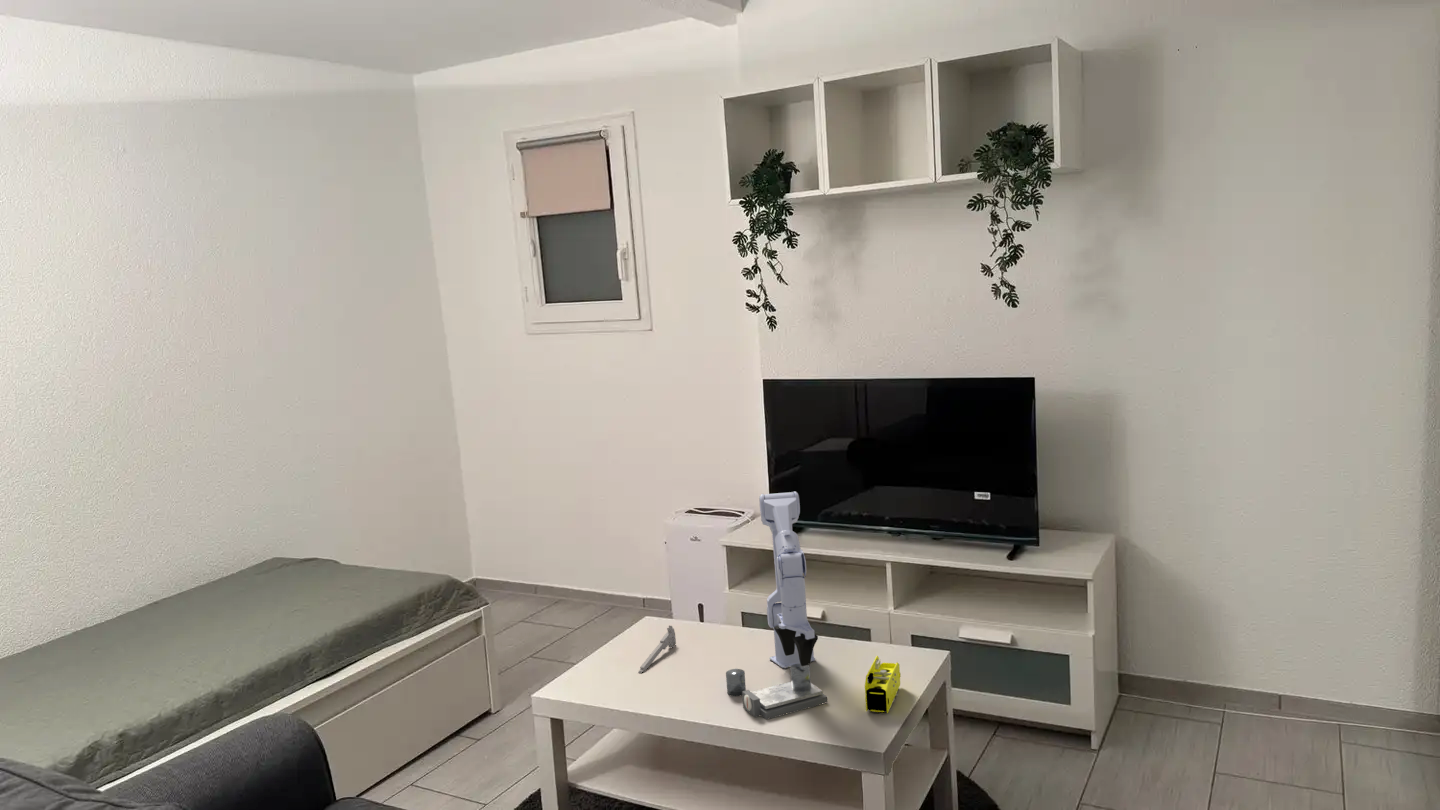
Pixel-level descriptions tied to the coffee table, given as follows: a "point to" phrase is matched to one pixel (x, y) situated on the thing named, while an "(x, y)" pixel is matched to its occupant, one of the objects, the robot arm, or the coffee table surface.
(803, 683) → the block
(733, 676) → the cylinder
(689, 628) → the coffee table surface
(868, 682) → the yellow toy chassis
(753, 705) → the scale base
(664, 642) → the caliper
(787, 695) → the pan
